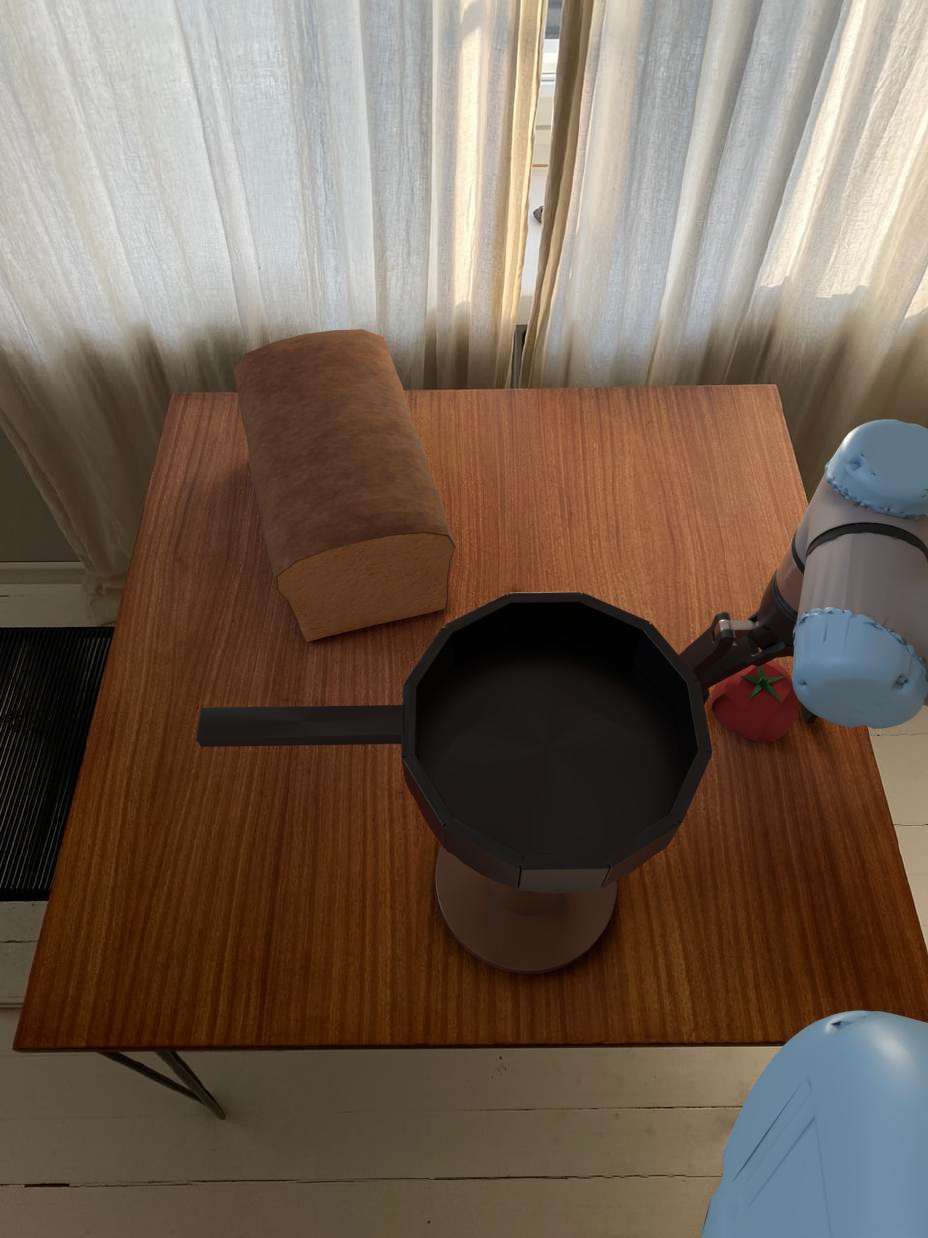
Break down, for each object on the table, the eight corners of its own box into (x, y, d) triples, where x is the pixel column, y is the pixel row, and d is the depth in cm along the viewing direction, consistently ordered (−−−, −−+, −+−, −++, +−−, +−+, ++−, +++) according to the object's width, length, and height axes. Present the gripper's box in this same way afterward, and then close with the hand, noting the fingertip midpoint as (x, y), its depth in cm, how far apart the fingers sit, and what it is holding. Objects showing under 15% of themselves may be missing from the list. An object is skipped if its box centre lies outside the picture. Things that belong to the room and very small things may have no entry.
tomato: (692, 719, 86) (708, 685, 80) (733, 665, 90) (752, 628, 84) (764, 767, 84) (786, 735, 78) (803, 709, 87) (828, 674, 81)
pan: (635, 983, 73) (733, 866, 46) (285, 988, 73) (172, 875, 46) (613, 785, 83) (683, 589, 55) (303, 790, 83) (219, 596, 55)
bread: (293, 650, 91) (262, 558, 78) (253, 447, 107) (221, 341, 93) (460, 610, 94) (458, 514, 80) (397, 418, 109) (386, 310, 96)
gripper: (957, 546, 70) (855, 676, 89) (665, 551, 70) (625, 680, 89) (988, 626, 66) (875, 744, 85) (679, 631, 66) (634, 748, 85)
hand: (747, 711), depth 87 cm, fingers open, 11 cm apart
